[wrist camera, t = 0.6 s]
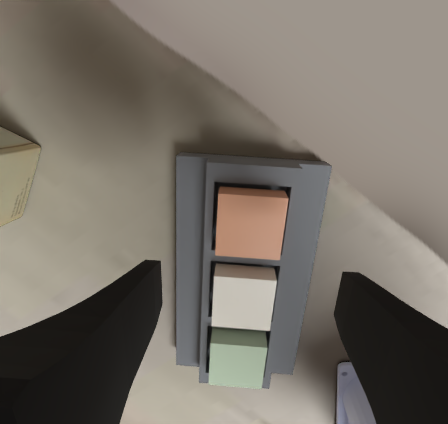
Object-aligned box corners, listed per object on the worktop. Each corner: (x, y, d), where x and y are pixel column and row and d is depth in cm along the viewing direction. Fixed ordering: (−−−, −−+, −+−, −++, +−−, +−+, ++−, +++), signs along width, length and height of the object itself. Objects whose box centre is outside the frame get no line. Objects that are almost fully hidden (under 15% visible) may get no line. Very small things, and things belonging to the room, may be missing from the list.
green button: (260, 370, 23) (261, 389, 22) (210, 366, 23) (208, 384, 22) (265, 331, 22) (267, 347, 20) (212, 326, 22) (210, 343, 20)
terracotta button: (276, 248, 19) (279, 260, 18) (216, 243, 19) (215, 255, 18) (284, 190, 18) (288, 198, 16) (219, 186, 18) (218, 193, 17)
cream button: (267, 315, 21) (269, 330, 20) (213, 310, 21) (211, 326, 20) (274, 267, 20) (276, 281, 18) (215, 263, 20) (214, 276, 18)
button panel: (289, 360, 26) (295, 391, 23) (179, 351, 26) (172, 380, 24) (325, 161, 20) (339, 171, 17) (180, 152, 20) (171, 159, 17)
